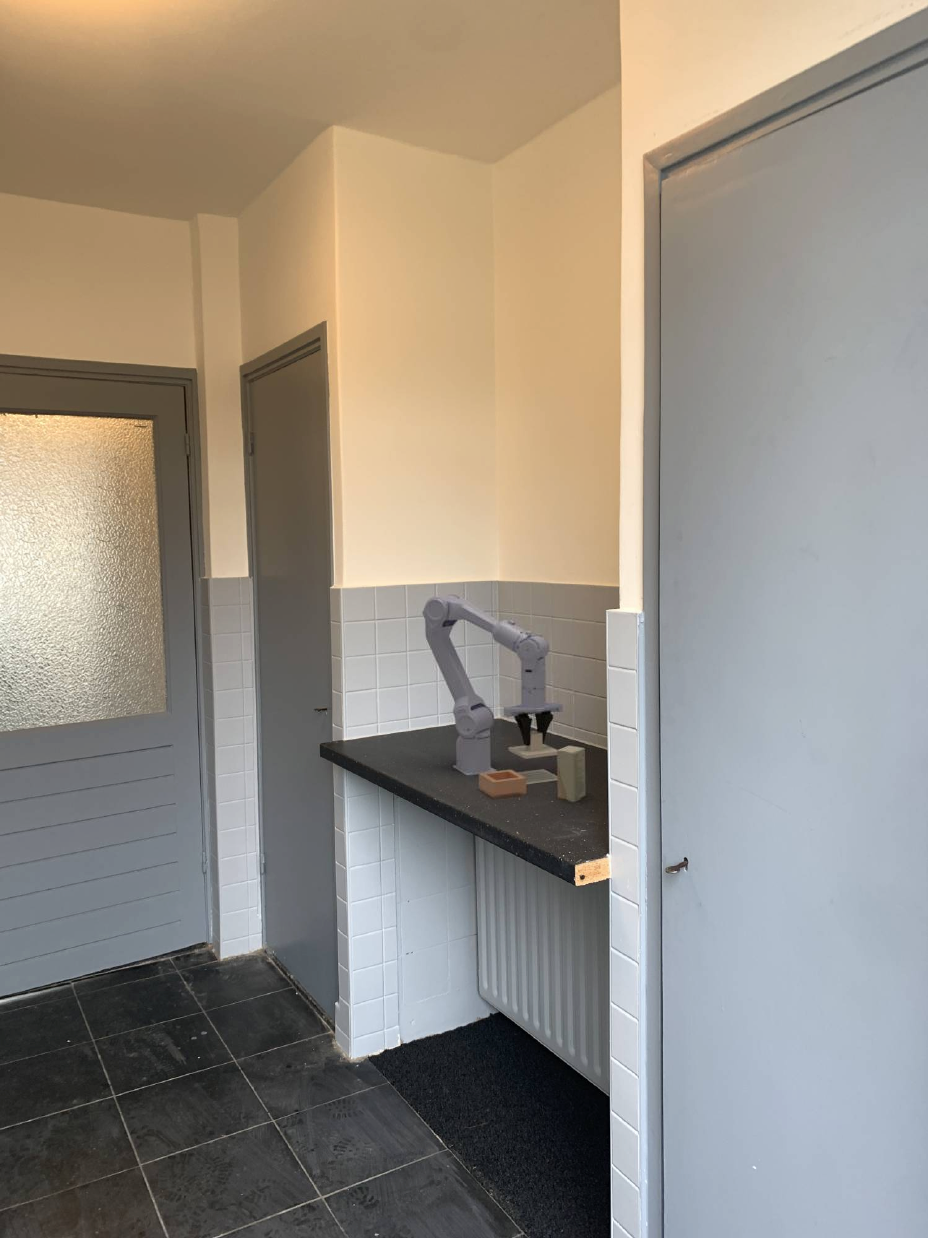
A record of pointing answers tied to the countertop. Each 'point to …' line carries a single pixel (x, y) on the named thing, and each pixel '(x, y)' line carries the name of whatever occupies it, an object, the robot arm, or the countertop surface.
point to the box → (571, 773)
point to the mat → (538, 776)
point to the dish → (502, 784)
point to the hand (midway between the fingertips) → (533, 744)
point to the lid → (534, 747)
